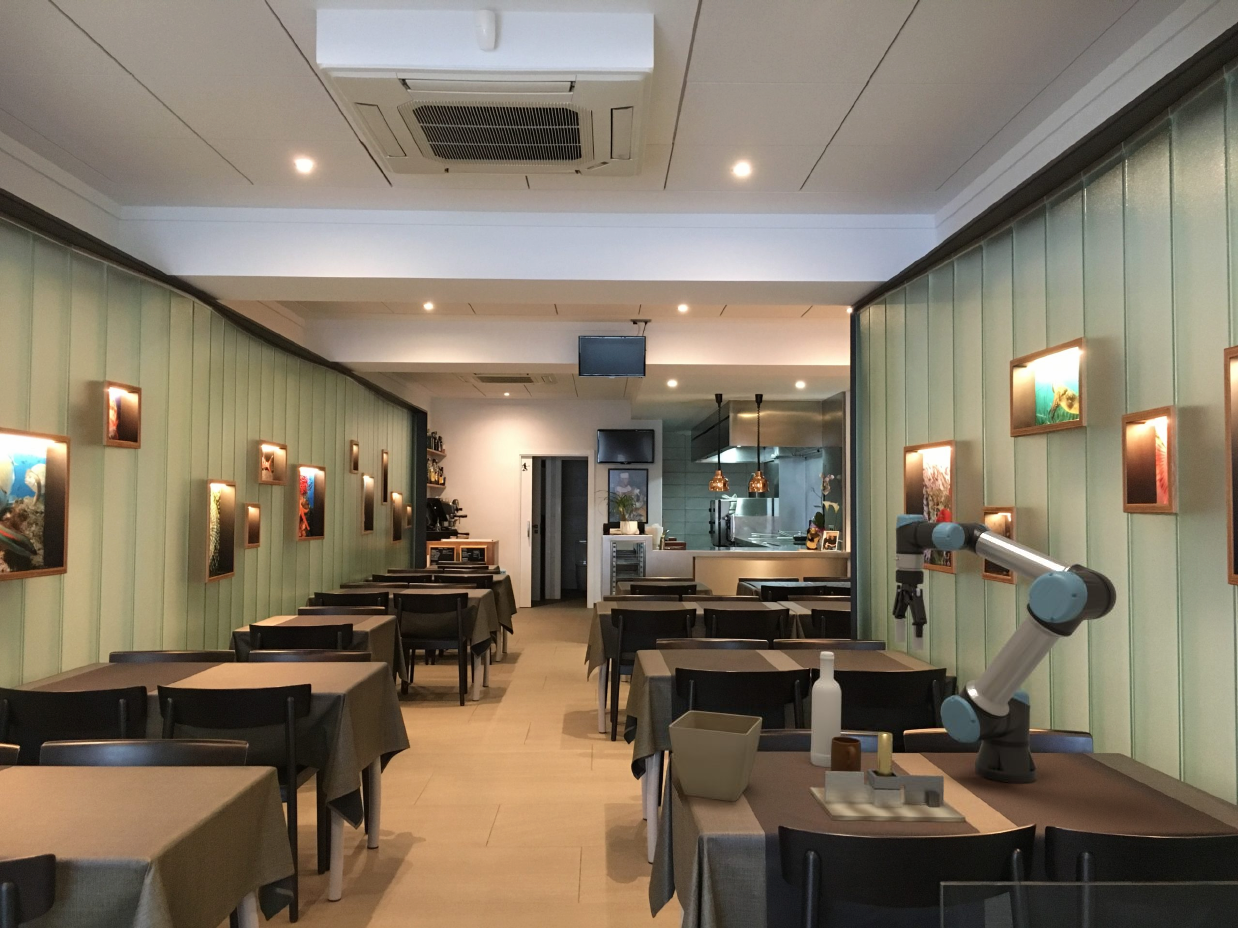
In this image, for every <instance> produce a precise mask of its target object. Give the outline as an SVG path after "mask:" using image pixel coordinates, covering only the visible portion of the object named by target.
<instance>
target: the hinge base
mask: <svg viewBox="0 0 1238 928" xmlns="http://www.w3.org/2000/svg"><path fill="white" fill-rule="evenodd" d="M824 788H825V803H869V804H872V805H873V806H874V807H882V808H902V790H901V789H902V788H901V789H877V788H874V787H873V786H872V785H871V784H870V783H869V782H868V781H867V780H866V784H865V772H864V771H861V772H846V771H831V770H830V771H829V770H826V771H824ZM939 798H940V794H939V793H937V792H927V806H928V807H939Z"/></svg>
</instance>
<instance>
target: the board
mask: <svg viewBox="0 0 1238 928" xmlns="http://www.w3.org/2000/svg"><path fill="white" fill-rule="evenodd" d="M901 790H902V808H882V807H874V806H873V805H872V804H869V803H825V787H810V788H809V792H810V794H811V795H812V796H813V798H815V800H816V801H817V803H818V804H819V805H820V806H821V807H822V809H823V810H824V811H825V812H826V814H827V815H828V816H829V818H830V819H831V820H832V821H872V822H873V821H877V822H880V821H881V822H882V821H883V822H884V821H885V822H888V821H889V822H933V823H934V822H939V823H940V822H944V823H947V822H948V823H949V822H950V823H966V819H967V818H966V816H965V815H963V814H962V813H961V812H959V811H958V810H957V809H956V808H954V806H952V805H951V804H950V803H949V802H947V801H946V800H945V799H944V804H939V807H928V806H927V804H924V803H904V788H901Z"/></svg>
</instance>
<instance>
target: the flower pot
mask: <svg viewBox="0 0 1238 928" xmlns="http://www.w3.org/2000/svg"><path fill="white" fill-rule="evenodd" d="M762 722H763V718H762V717H761V716H751V715H740V714H731V713H720V712H713V711H712V712H709V711H700V710H689V711H687V712H685V713H684V714H682V715H681V716H680V717H679V718H677V719H676V720H675V721H673V722H672V723H670V724H669V725H668V731H669V738H670V745H671V751H672V755H673V759H674V764H675V767H676V772H677V775H678V778H679V781H680V785H681V788H682V790H683V793H684V795H685V796H691V797H699V798H707V799H714V800H720V801H721V800H722V801H728V802H729V801H731V802H735V801H738V799H739V798H740V796H741V795H742V794H743V793H744V791H745V790H746V789H747V788H748V784H749V782H750V778H751V775H752V772H753V767H754V764H755V759H756V756H757V753H758V747H759V742H760V738H761V737H760V736H761V733H762V724H763V723H762Z"/></svg>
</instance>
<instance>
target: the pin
mask: <svg viewBox="0 0 1238 928" xmlns="http://www.w3.org/2000/svg"><path fill="white" fill-rule="evenodd" d="M892 767H893V733H891V732H886V731H881V732H880V731H879V732H878V733H877V769H876V770H877V776H884V777H892V770H893V768H892ZM877 789H886V788H877Z"/></svg>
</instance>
